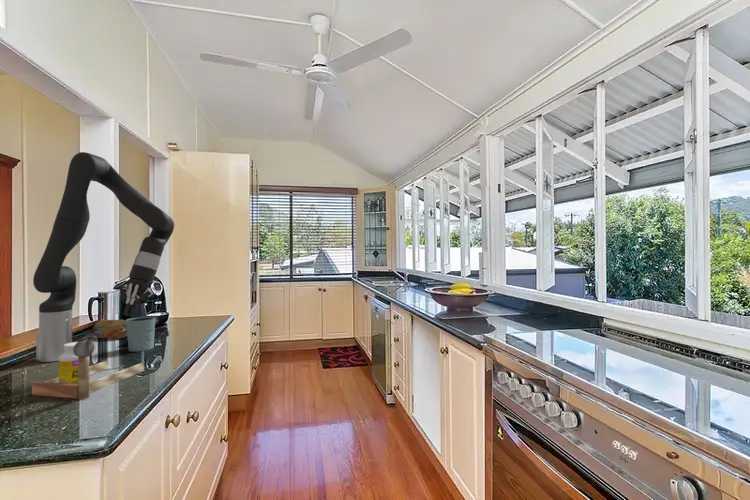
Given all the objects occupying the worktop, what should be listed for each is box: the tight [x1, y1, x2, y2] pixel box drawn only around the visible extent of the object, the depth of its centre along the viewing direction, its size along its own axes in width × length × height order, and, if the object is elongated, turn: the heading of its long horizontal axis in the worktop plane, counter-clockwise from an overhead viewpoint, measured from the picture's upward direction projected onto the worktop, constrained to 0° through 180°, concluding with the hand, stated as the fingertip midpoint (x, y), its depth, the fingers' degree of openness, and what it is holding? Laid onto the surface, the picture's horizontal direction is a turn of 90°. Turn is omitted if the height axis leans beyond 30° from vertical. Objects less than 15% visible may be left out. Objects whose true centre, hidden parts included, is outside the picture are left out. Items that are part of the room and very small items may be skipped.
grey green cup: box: [125, 316, 156, 353], centre depth 154 cm, size 10×10×12 cm
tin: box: [92, 319, 127, 340], centre depth 171 cm, size 15×3×8 cm, turn 91°
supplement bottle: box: [58, 341, 79, 384], centre depth 109 cm, size 7×7×13 cm
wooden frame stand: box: [31, 335, 145, 400], centre depth 114 cm, size 25×19×16 cm
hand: (127, 315), depth 130 cm, fingers closed
